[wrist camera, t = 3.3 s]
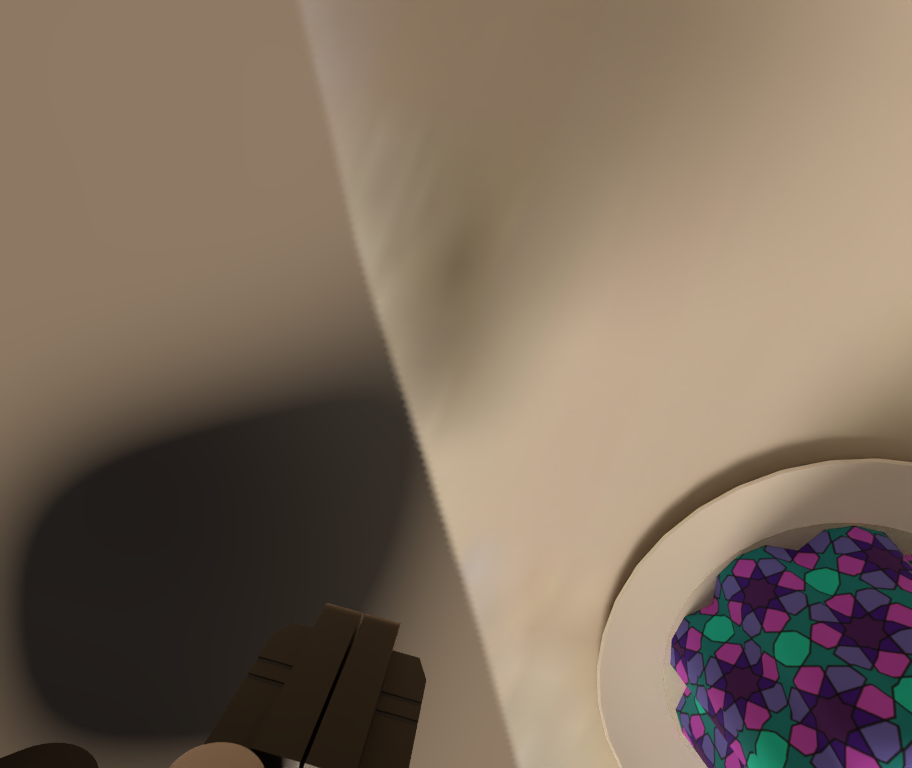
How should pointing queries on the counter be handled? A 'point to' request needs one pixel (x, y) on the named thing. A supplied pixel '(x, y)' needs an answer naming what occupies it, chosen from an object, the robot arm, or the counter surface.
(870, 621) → the pudding
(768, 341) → the counter surface
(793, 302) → the counter surface
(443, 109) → the counter surface
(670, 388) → the counter surface
